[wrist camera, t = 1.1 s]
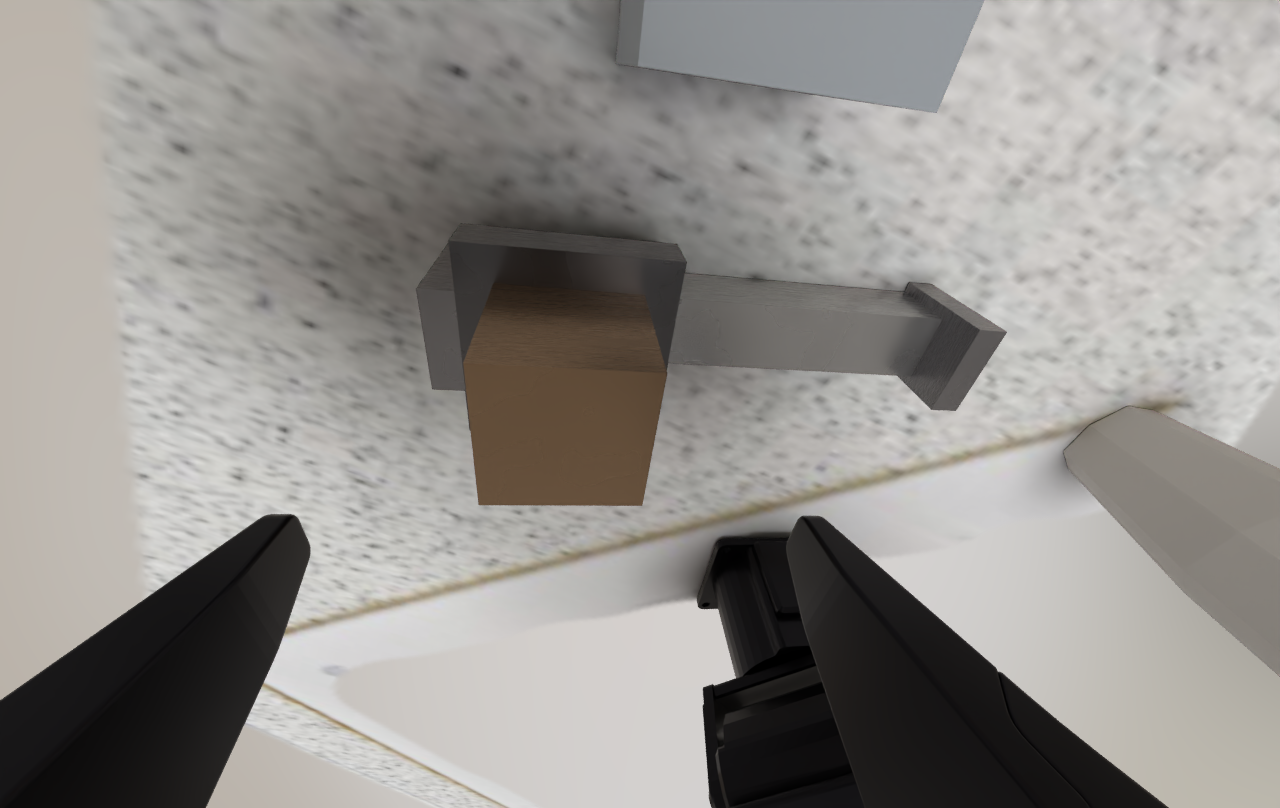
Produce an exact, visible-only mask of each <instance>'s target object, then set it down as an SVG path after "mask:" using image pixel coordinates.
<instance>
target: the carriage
mask: <svg viewBox="0 0 1280 808" xmlns="http://www.w3.org/2000/svg"><path fill="white" fill-rule="evenodd" d="M449 249H450V258H451V267H452V276H453V285H454V294H455V303H456V312H457V321H458V330H459V339H460V348H461V357H462V365H463V374H464V383H465V392H466V401H467V410H468V419H469V428H470V430H471V439H472V448H473V457H474V466H475V475H476V484H477V493H478V502H479V505H610V506H642V504H643V499H644V493H645V488H646V483H647V477H648V472H649V467H650V461H651V456H652V451H653V446H654V440H655V435H656V430H657V424H658V419H659V414H660V409H661V403H662V398H663V393H664V387H665V382H666V377H667V371H666V370H667V365H668V360H669V354H670V349H671V344H672V338H673V333H674V328H675V322H676V317H677V312H678V306H679V301H680V296H681V290H682V285H683V280H684V274H685V269H686V264H687V262H686V260H685V258H684V256H683V254H682V252H681V250H680V249H679V247H678V245H677V244H670V243H662V242H651V241H641V240H631V239H620V238H610V237H599V236H589V235H579V234H568V233H558V232H547V231H537V230H526V229H516V228H506V227H495V226H485V225H472V224H462V223H461V224H460V225H459V227H458V228H457V230H456V231H455V232H454V234H453V235H452V237H451V238H450V239H449Z"/></svg>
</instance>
